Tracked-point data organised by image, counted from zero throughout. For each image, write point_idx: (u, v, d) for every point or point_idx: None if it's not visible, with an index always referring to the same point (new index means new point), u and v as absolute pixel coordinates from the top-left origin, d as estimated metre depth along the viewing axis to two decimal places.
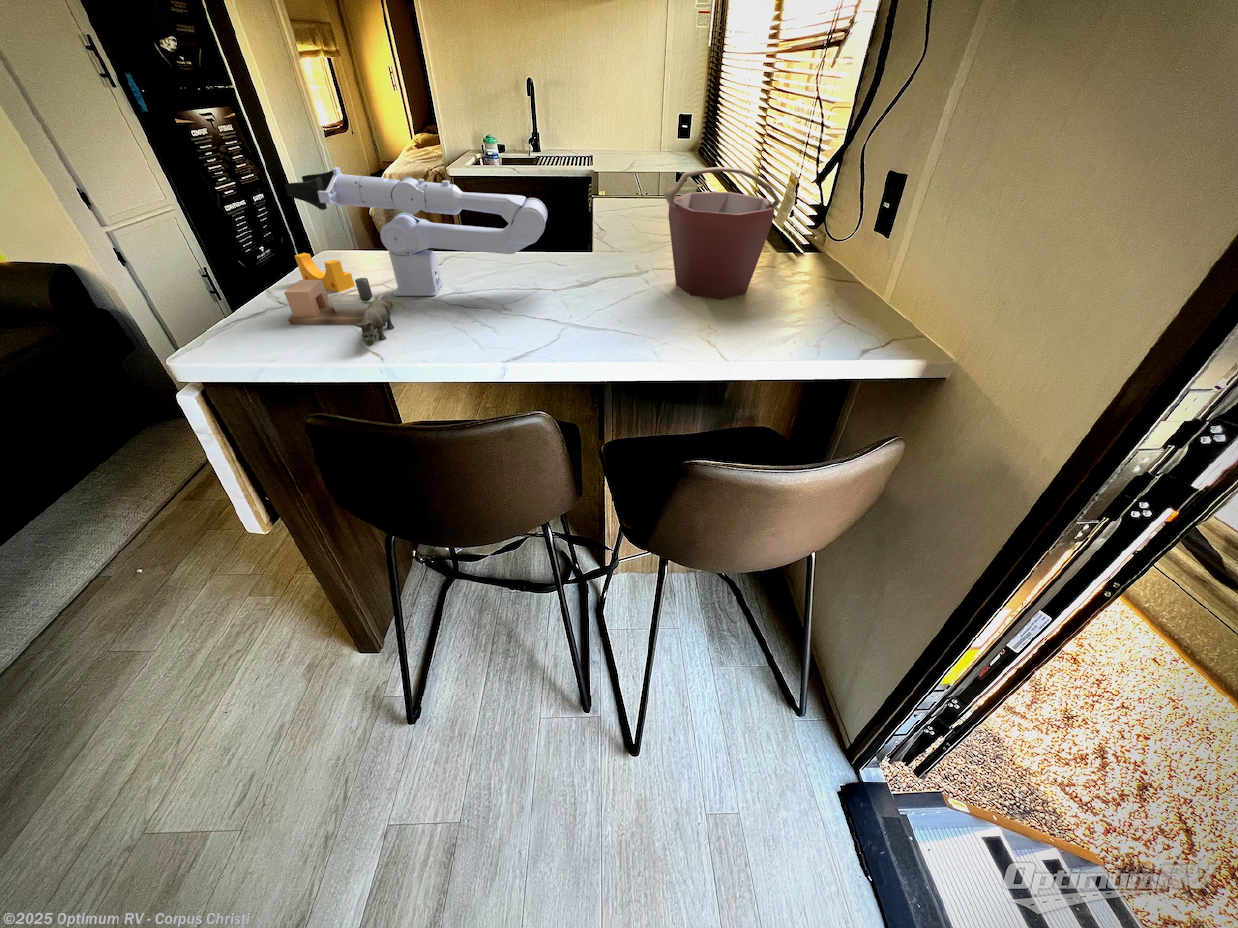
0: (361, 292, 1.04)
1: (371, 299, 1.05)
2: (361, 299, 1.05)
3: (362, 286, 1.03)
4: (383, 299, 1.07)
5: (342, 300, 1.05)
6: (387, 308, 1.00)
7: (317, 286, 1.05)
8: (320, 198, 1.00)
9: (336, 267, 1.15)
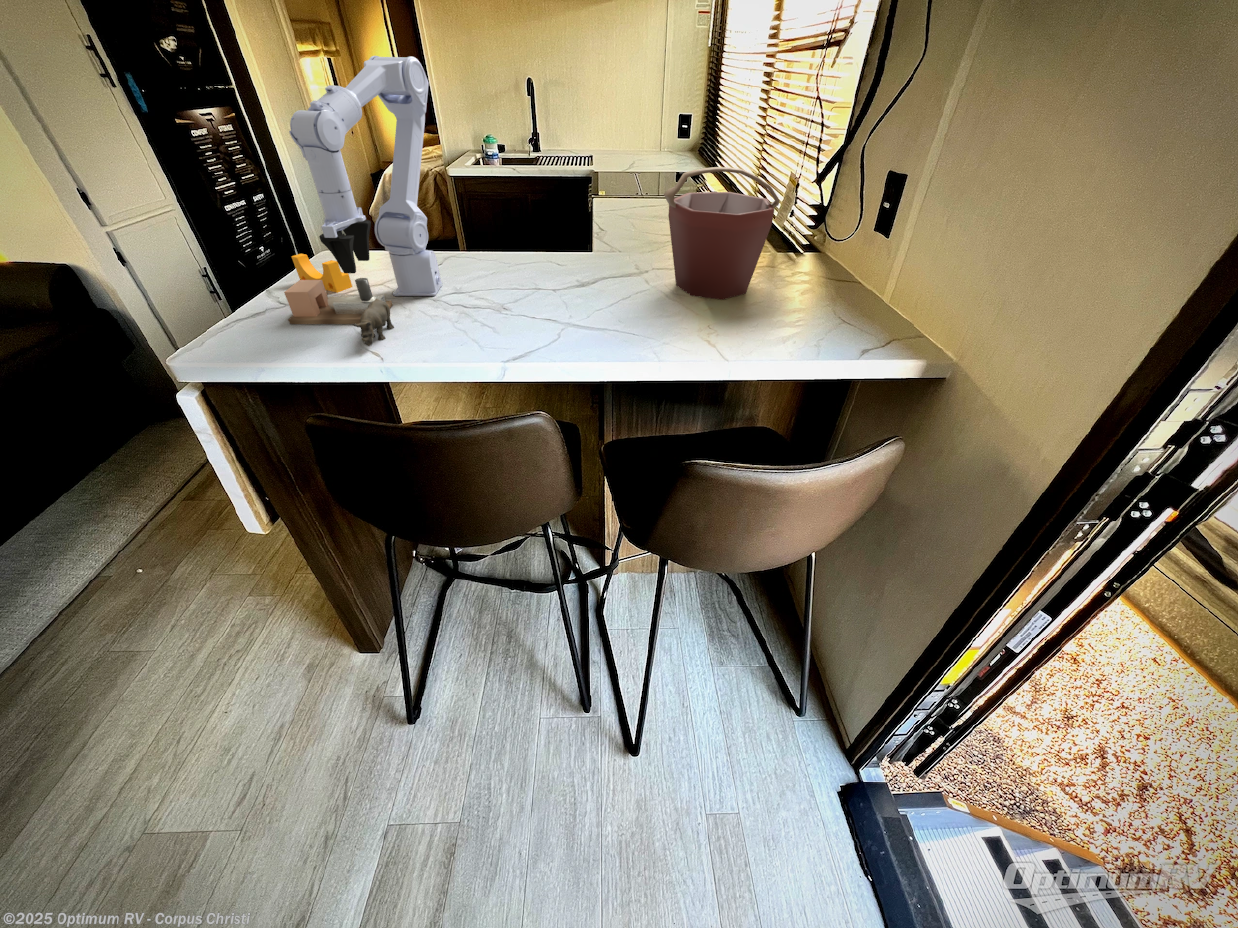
0: (361, 292, 1.04)
1: (371, 299, 1.05)
2: (361, 299, 1.05)
3: (362, 286, 1.03)
4: (383, 299, 1.07)
5: (342, 300, 1.05)
6: (387, 308, 1.00)
7: (317, 286, 1.05)
8: None
9: (334, 268, 1.15)
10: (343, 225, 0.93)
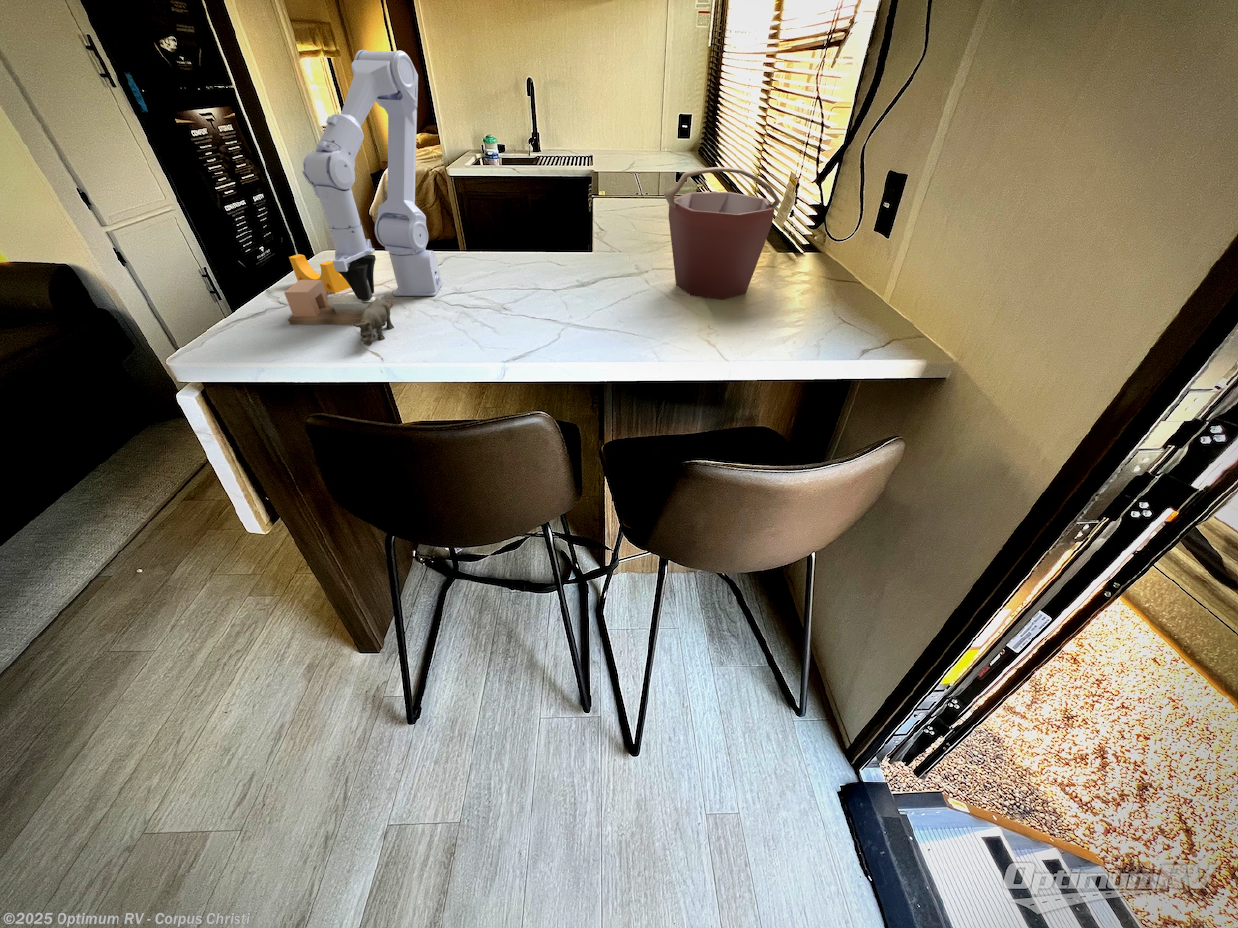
0: None
1: (371, 299, 1.05)
2: (361, 299, 1.05)
3: None
4: (383, 299, 1.07)
5: (342, 300, 1.05)
6: (387, 308, 1.00)
7: (317, 286, 1.05)
8: None
9: (332, 268, 1.14)
10: (353, 259, 0.97)
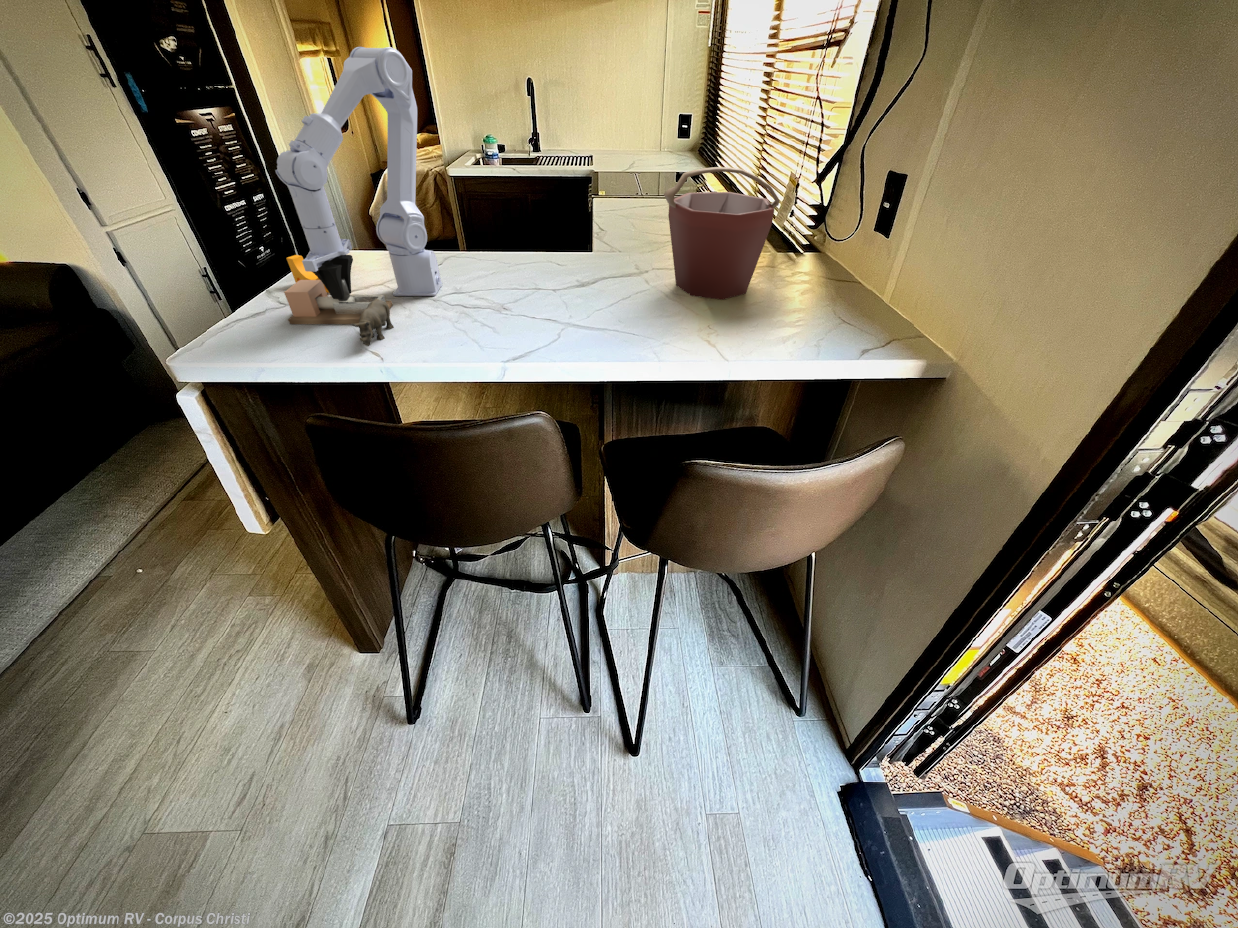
0: None
1: (348, 299, 1.05)
2: (339, 299, 1.05)
3: None
4: (383, 299, 1.07)
5: (319, 300, 1.05)
6: (386, 308, 1.00)
7: (317, 286, 1.05)
8: None
9: None
10: (324, 259, 0.96)
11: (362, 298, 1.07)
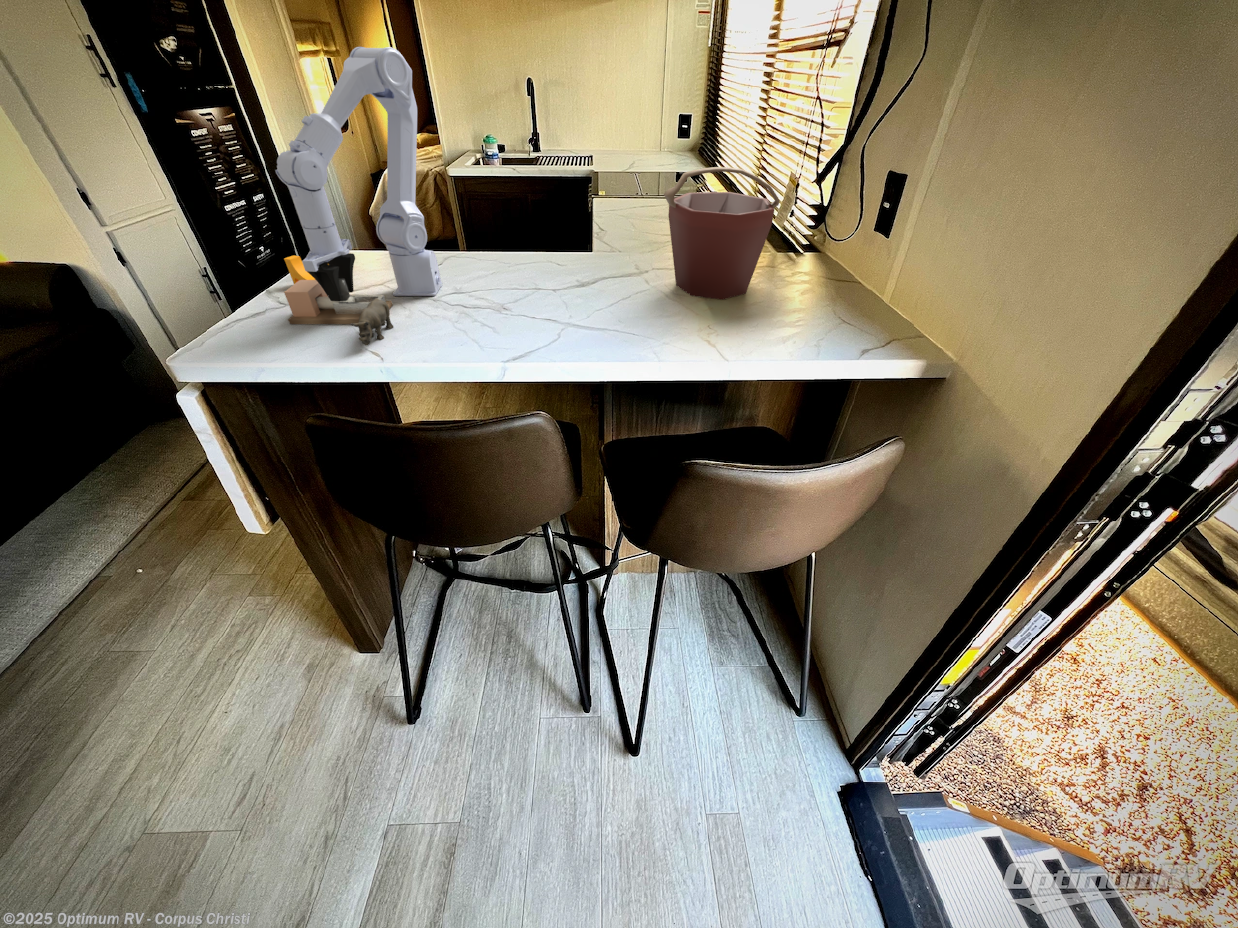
0: None
1: (348, 299, 1.05)
2: None
3: None
4: (383, 299, 1.07)
5: (319, 300, 1.05)
6: (386, 308, 1.00)
7: (317, 286, 1.05)
8: None
9: None
10: (324, 259, 0.96)
11: (362, 298, 1.07)
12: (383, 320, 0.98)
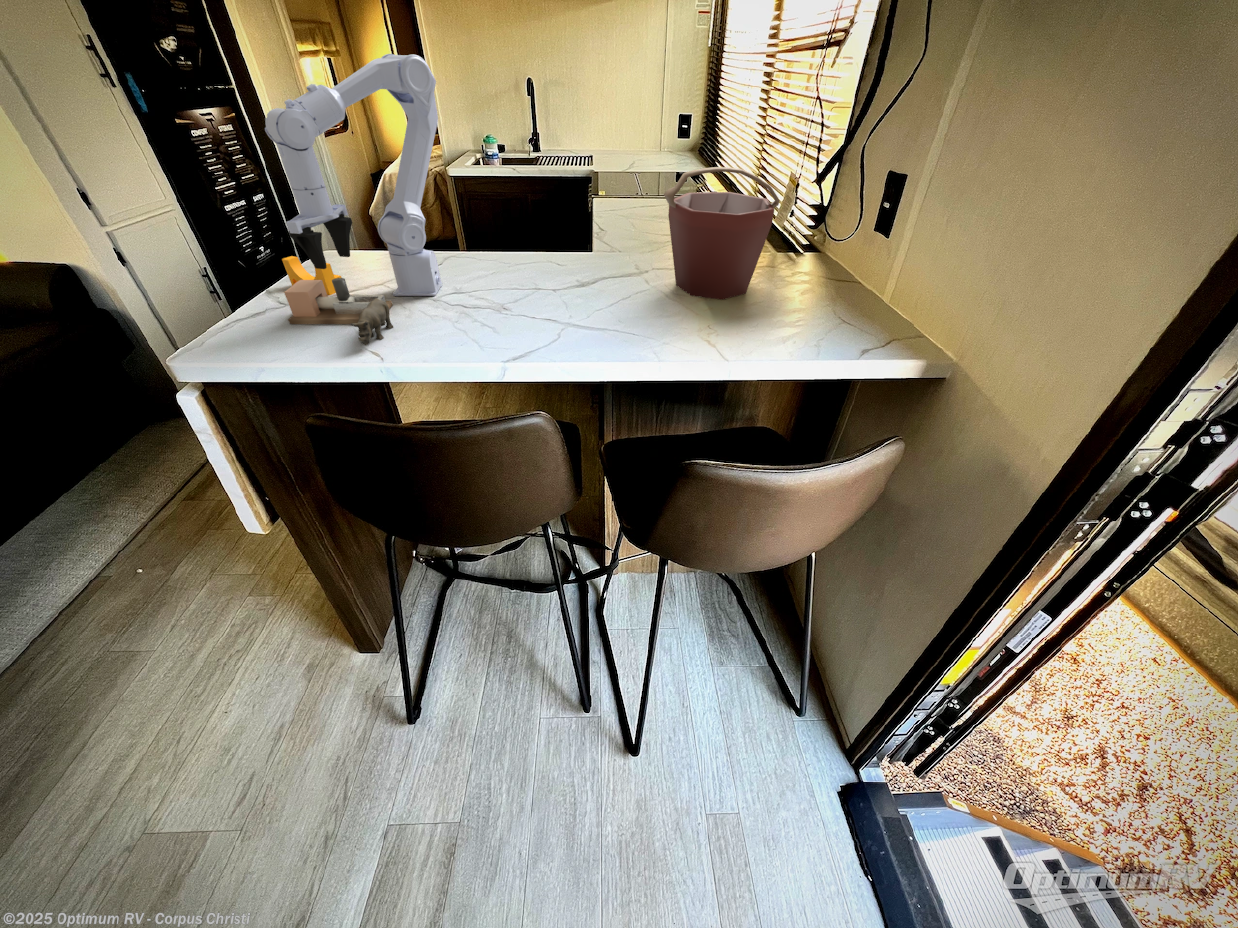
0: (338, 292, 1.03)
1: (348, 299, 1.05)
2: (339, 299, 1.05)
3: (339, 286, 1.03)
4: (383, 299, 1.07)
5: (319, 300, 1.05)
6: (386, 308, 1.00)
7: (317, 286, 1.05)
8: None
9: (326, 270, 1.14)
10: (310, 222, 0.94)
11: (362, 298, 1.07)
12: (383, 320, 0.98)
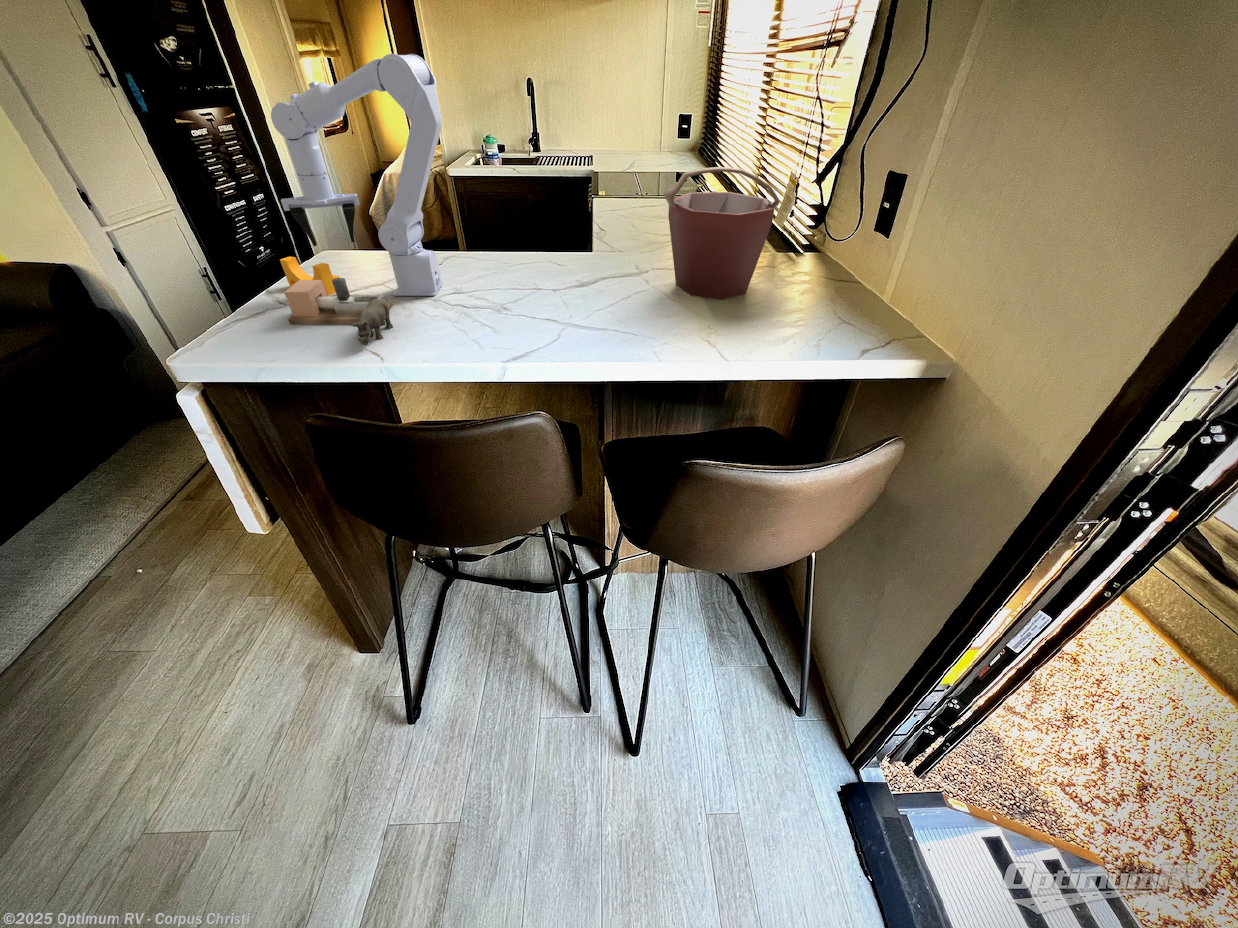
0: (338, 292, 1.03)
1: (348, 299, 1.05)
2: (339, 299, 1.05)
3: (339, 286, 1.03)
4: (383, 299, 1.07)
5: (319, 300, 1.05)
6: (386, 308, 1.00)
7: (317, 286, 1.05)
8: None
9: (325, 270, 1.13)
10: (297, 203, 1.06)
11: (362, 298, 1.07)
12: (382, 320, 0.98)
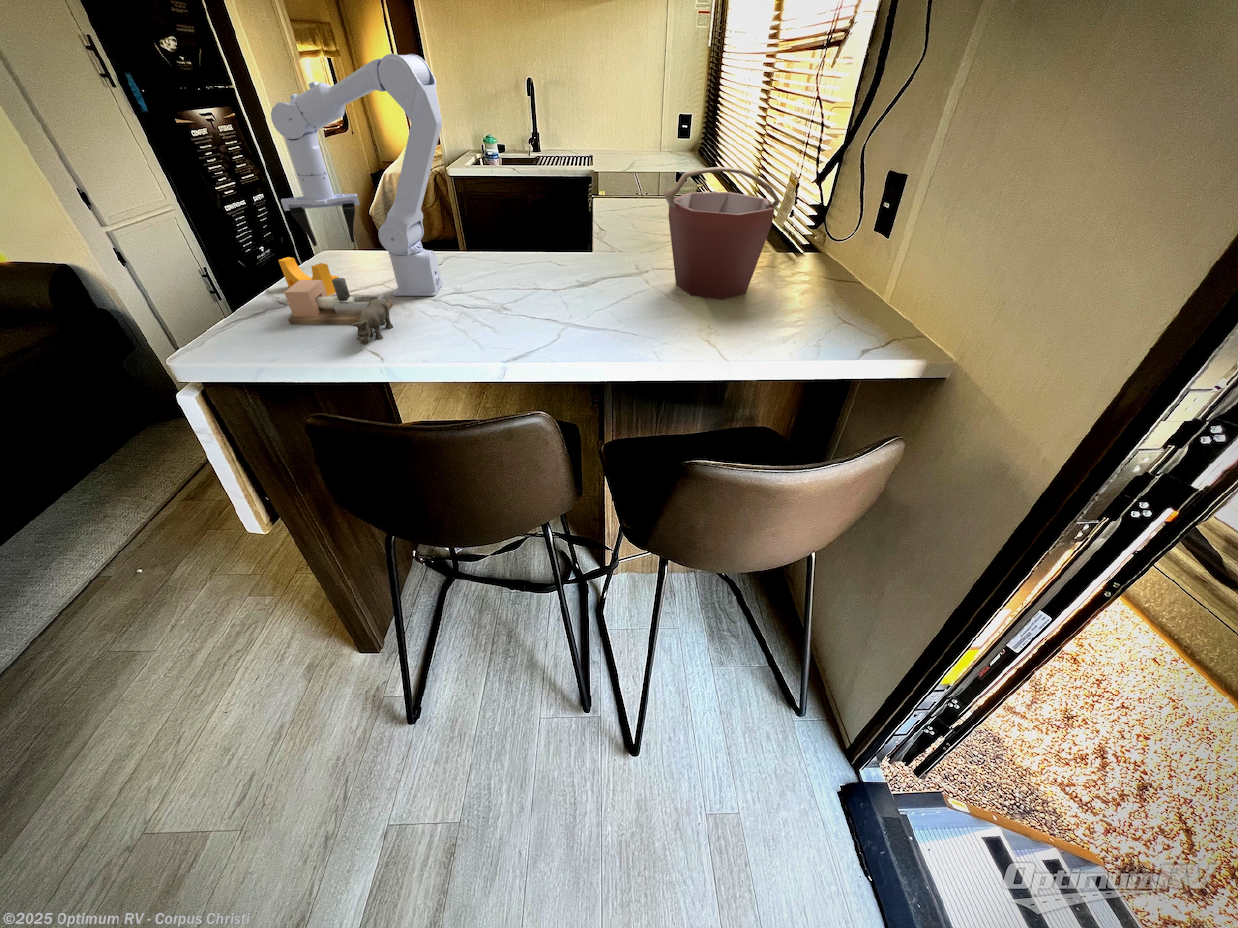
0: (338, 292, 1.03)
1: (348, 299, 1.05)
2: (339, 299, 1.05)
3: (339, 286, 1.03)
4: (383, 299, 1.07)
5: (319, 300, 1.05)
6: (385, 308, 1.00)
7: (317, 286, 1.05)
8: None
9: (323, 271, 1.13)
10: (297, 203, 1.06)
11: (362, 298, 1.07)
12: (382, 320, 0.98)
